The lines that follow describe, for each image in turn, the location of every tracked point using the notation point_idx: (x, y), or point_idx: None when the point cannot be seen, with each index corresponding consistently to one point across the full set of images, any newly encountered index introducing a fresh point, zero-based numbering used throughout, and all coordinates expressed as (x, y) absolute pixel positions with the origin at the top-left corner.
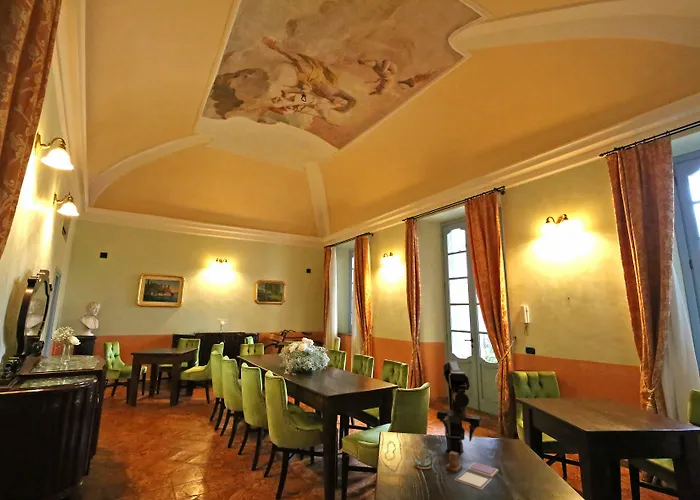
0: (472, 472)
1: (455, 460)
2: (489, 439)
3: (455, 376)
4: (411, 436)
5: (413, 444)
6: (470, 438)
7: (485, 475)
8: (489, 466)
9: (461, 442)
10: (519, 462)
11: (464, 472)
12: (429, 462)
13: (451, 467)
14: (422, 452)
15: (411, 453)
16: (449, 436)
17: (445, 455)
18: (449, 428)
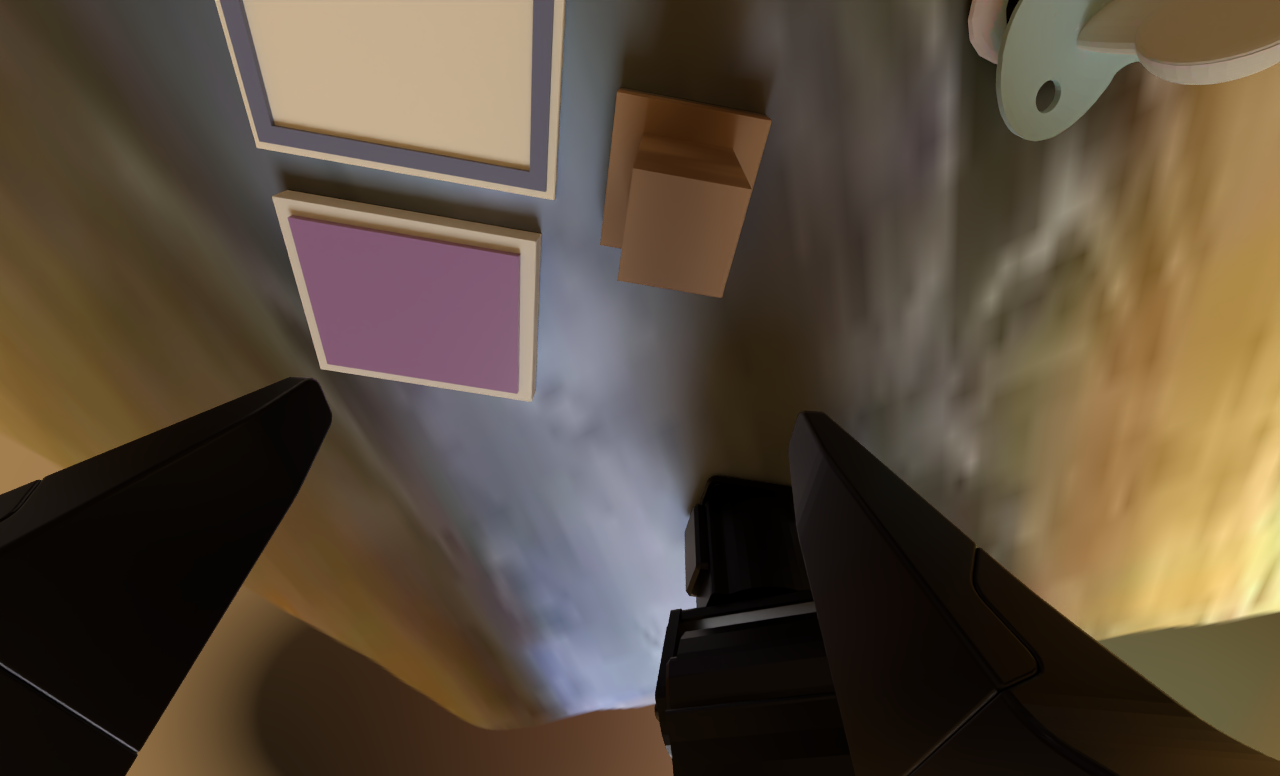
0: (468, 177)
1: (640, 148)
2: (593, 702)
3: None
4: (1120, 604)
5: (1128, 497)
6: (224, 410)
7: (350, 201)
8: (390, 373)
9: (694, 590)
10: (326, 547)
11: (536, 116)
12: (1017, 63)
13: (695, 107)
14: (1275, 11)
15: (1201, 310)
16: (796, 424)
17: None
18: (840, 611)
